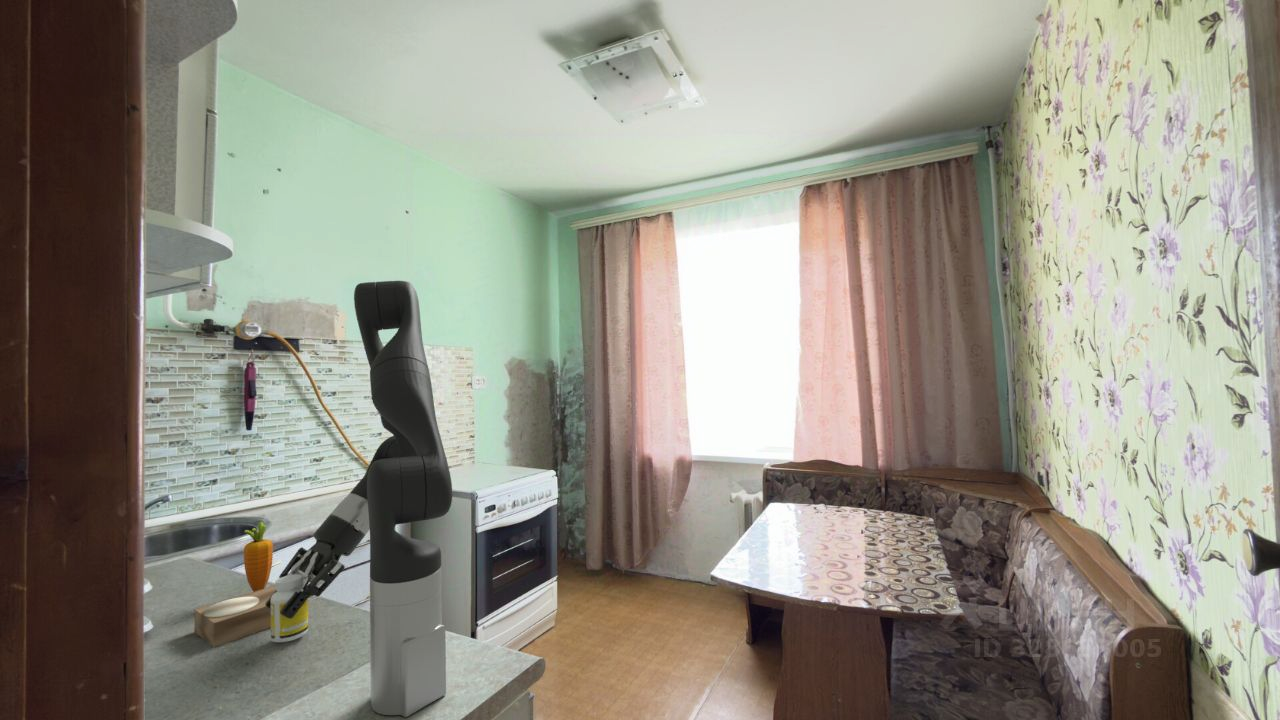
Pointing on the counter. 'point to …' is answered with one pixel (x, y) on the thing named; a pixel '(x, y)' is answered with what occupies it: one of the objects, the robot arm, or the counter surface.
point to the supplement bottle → (286, 588)
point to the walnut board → (234, 617)
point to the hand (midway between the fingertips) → (277, 611)
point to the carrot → (258, 558)
